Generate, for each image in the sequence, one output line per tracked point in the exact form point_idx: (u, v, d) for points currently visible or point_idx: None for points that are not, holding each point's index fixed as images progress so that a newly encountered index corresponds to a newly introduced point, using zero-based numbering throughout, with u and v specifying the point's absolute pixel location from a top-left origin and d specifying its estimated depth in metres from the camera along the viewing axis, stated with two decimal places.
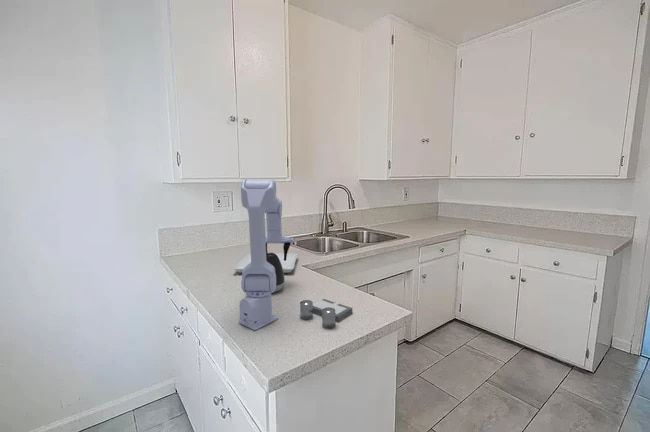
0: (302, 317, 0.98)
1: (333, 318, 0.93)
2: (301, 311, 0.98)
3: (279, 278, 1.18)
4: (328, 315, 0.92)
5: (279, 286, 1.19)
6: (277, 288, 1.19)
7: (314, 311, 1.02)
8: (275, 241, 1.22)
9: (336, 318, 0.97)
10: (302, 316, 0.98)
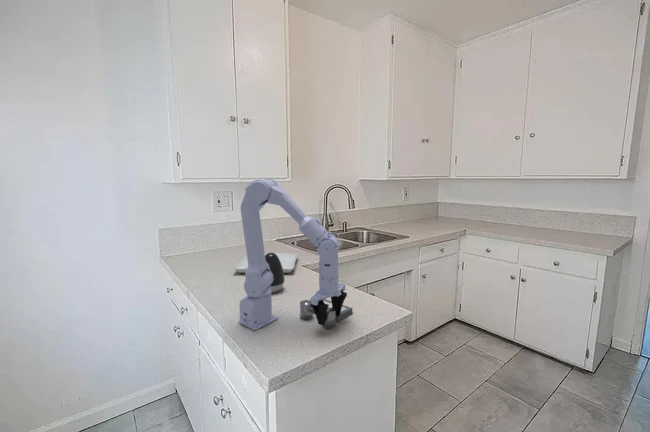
0: (302, 317, 0.98)
1: (333, 318, 0.93)
2: (301, 311, 0.98)
3: (279, 278, 1.18)
4: (328, 315, 0.92)
5: (279, 286, 1.19)
6: (277, 288, 1.19)
7: None
8: None
9: (336, 318, 0.97)
10: (302, 316, 0.98)
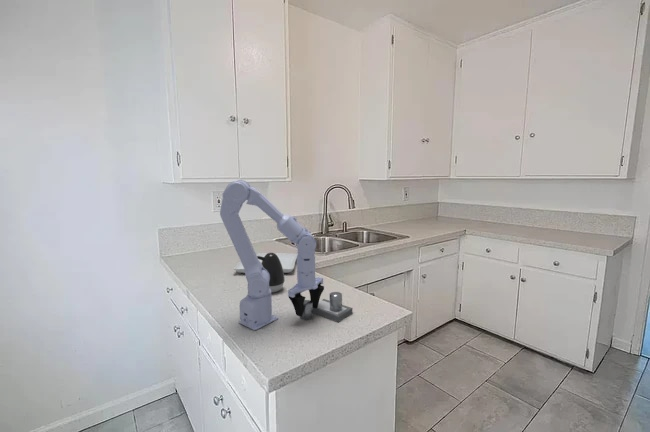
0: (302, 317, 0.98)
1: (340, 301, 0.99)
2: None
3: (279, 278, 1.18)
4: (335, 298, 0.98)
5: (279, 286, 1.19)
6: (277, 288, 1.19)
7: (314, 311, 1.02)
8: None
9: (336, 318, 0.97)
10: (302, 316, 0.98)
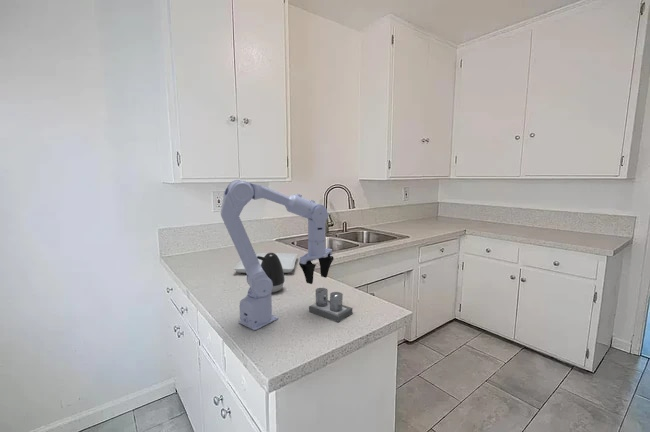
0: (318, 304, 1.02)
1: (341, 301, 0.99)
2: (316, 298, 1.03)
3: (279, 278, 1.18)
4: (337, 298, 0.98)
5: (279, 286, 1.19)
6: (277, 288, 1.19)
7: (314, 311, 1.02)
8: None
9: (336, 318, 0.97)
10: (318, 303, 1.02)
